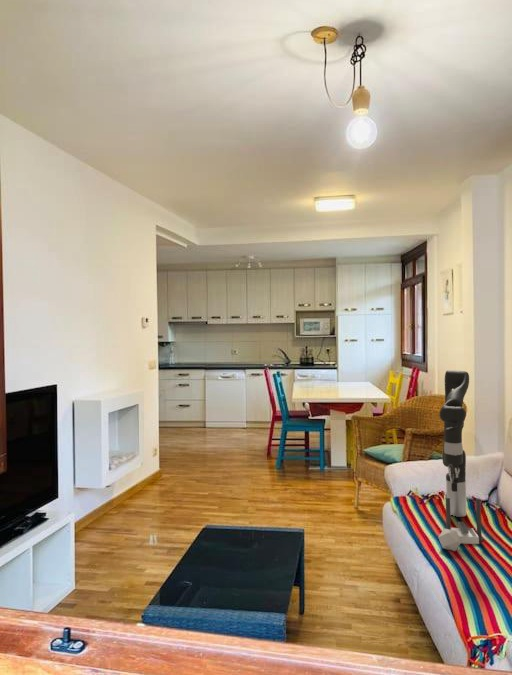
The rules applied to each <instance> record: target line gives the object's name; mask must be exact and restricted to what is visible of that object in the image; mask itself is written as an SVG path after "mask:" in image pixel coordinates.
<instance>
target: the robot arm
mask: <svg viewBox="0 0 512 675" xmlns="http://www.w3.org/2000/svg"><path fill="white" fill-rule="evenodd" d="M469 385H470V374H469V372H468V371H465V370H452V369H448V370H446V371H445V374H444V399H445V400H444V404H443V405H442V406H441V408H440V410H439V418H440V420H441V421H442V422H443V426H444V427H443V446H442V455H441V456H442V457H441V458H442V460H441V461H442V464H443V466H444V467H447V470H448V472H447V473H446V474H445V483H446V484H445V485H446V486H445V487H446V489H445V490H446V498H450V516H451V515H453V516H452V517H455V516H456V517H455V518H457V517H458V518H462V517H466V516H467V486H466V485H467V484H466V475H467V474H466V468H467V467H466V466H467V465H466V464H467V463H466V462H467V456H466V452H465V450H464V448H463V434H462V432H463V429H464V426H465V420H466V416H467V412H466V409H464V407H463V404H464V399H465V395H466V394H467V390H468V388H469Z"/></svg>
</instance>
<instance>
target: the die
mask: <svg viewBox="0 0 512 675" xmlns="http://www.w3.org/2000/svg"><path fill="white" fill-rule="evenodd" d="M437 538H438V539H439V542H440V545H441V547H442V549H445V550H449V551H451V552H452V551H453V552H456V551H457V549H458V548H459V546H461V544H462V543H461V540H460V538H459V535H458V533H457V531H455V530H450V529H446V528H445V527H444V528H443V530H442V532H441V533H440V534H439V536H438V537H437Z"/></svg>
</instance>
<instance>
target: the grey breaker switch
mask: <svg viewBox="0 0 512 675" xmlns="http://www.w3.org/2000/svg"><path fill="white" fill-rule="evenodd" d="M457 523H458V528H460V524H465V521H458V522H457Z"/></svg>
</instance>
